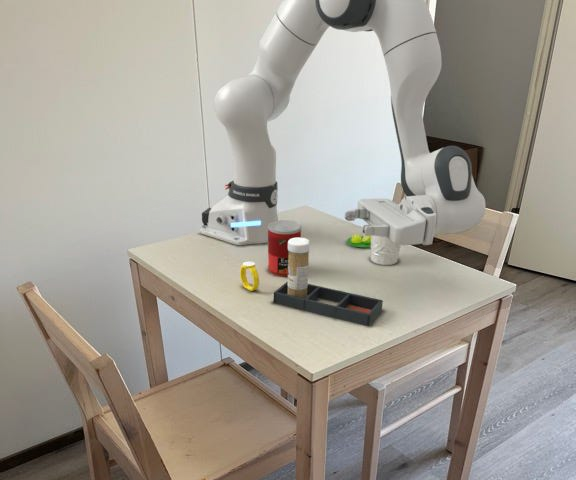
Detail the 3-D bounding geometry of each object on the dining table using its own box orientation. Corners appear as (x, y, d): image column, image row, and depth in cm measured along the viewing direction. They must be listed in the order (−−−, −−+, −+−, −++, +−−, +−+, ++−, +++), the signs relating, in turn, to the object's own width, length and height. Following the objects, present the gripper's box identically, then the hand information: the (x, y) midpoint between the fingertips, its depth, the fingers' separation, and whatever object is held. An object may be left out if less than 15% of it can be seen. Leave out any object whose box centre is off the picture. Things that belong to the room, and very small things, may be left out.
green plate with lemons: (372, 237, 163) (373, 227, 162) (380, 248, 157) (381, 238, 155) (343, 238, 162) (344, 228, 161) (350, 249, 156) (351, 239, 154)
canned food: (279, 279, 139) (280, 233, 133) (261, 268, 145) (261, 223, 138) (306, 272, 143) (308, 227, 137) (288, 261, 148) (288, 218, 142)
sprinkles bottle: (283, 297, 131) (284, 238, 124) (302, 294, 133) (304, 235, 125) (292, 306, 128) (293, 245, 120) (311, 302, 129) (313, 242, 122)
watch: (262, 292, 133) (262, 267, 130) (251, 295, 132) (251, 269, 129) (248, 282, 137) (247, 258, 134) (237, 285, 136) (236, 260, 133)
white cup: (390, 268, 146) (394, 228, 140) (362, 260, 149) (365, 221, 144) (405, 259, 151) (410, 220, 145) (378, 251, 155) (382, 213, 149)
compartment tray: (273, 303, 129) (273, 292, 127) (289, 289, 135) (289, 279, 133) (369, 326, 121) (370, 315, 119) (381, 310, 127) (382, 300, 125)
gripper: (393, 189, 135) (336, 194, 131) (440, 217, 119) (376, 223, 115) (390, 216, 138) (335, 222, 135) (435, 247, 122) (373, 254, 118)
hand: (354, 223), depth 125 cm, fingers open, 8 cm apart
